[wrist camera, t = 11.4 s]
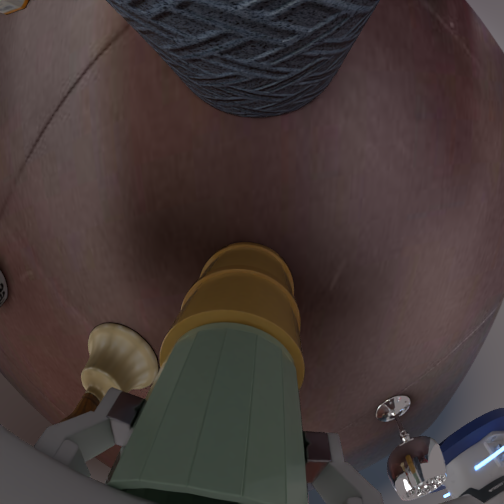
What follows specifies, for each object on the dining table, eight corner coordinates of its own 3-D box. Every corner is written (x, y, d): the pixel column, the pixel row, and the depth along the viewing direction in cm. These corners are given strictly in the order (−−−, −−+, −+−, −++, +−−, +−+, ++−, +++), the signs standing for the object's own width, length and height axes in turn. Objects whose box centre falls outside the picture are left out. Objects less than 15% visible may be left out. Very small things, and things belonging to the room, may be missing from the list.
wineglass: (362, 424, 28) (384, 506, 17) (384, 390, 27) (418, 476, 15) (400, 424, 28) (428, 497, 17) (423, 391, 27) (463, 466, 15)
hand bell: (92, 309, 26) (-11, 410, 10) (166, 343, 26) (94, 481, 11) (88, 366, 28) (15, 462, 13) (152, 397, 28) (99, 513, 13)
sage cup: (313, 336, 12) (346, 500, 5) (278, 425, 14) (277, 553, 7) (172, 306, 12) (83, 450, 5) (166, 402, 14) (118, 522, 7)
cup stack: (303, 253, 23) (330, 324, 12) (280, 334, 25) (285, 431, 15) (208, 232, 23) (159, 288, 12) (195, 316, 25) (154, 404, 14)
